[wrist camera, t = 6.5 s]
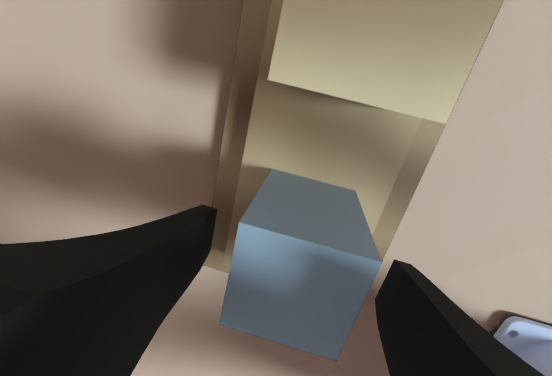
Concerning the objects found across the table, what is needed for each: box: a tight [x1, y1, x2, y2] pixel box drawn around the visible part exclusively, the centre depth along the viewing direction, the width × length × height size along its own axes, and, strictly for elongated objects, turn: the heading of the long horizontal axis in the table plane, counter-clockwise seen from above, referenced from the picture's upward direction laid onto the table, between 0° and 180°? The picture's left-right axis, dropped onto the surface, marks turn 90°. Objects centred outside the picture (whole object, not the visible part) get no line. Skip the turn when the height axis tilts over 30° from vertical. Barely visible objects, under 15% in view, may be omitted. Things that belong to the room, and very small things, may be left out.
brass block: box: [268, 0, 503, 124], centre depth 8 cm, size 4×4×6 cm
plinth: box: [203, 0, 504, 287], centre depth 13 cm, size 19×10×2 cm, turn 167°
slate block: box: [219, 169, 381, 361], centre depth 10 cm, size 4×4×6 cm
